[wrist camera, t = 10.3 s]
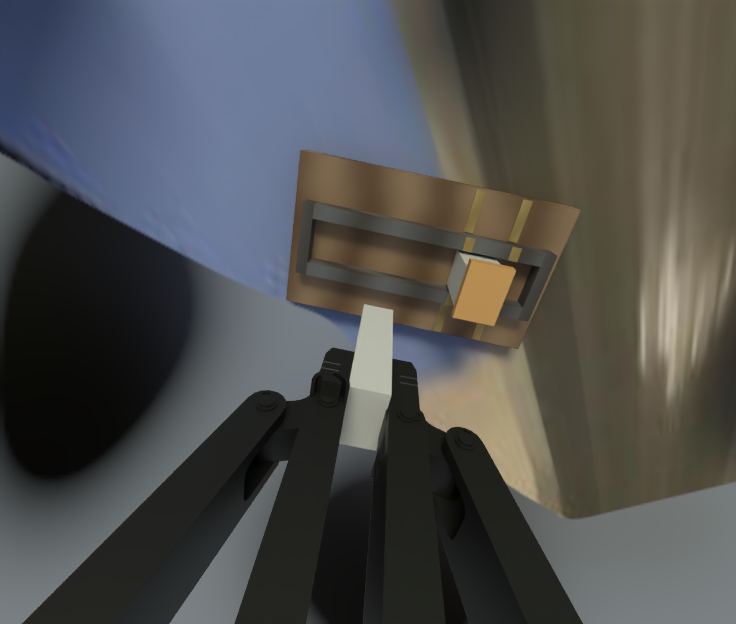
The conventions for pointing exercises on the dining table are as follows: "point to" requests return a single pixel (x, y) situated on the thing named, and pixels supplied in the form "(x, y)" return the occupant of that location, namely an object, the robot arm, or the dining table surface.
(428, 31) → the dining table surface
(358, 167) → the wooden tray
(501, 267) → the fader knob
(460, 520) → the robot arm
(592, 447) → the dining table surface
